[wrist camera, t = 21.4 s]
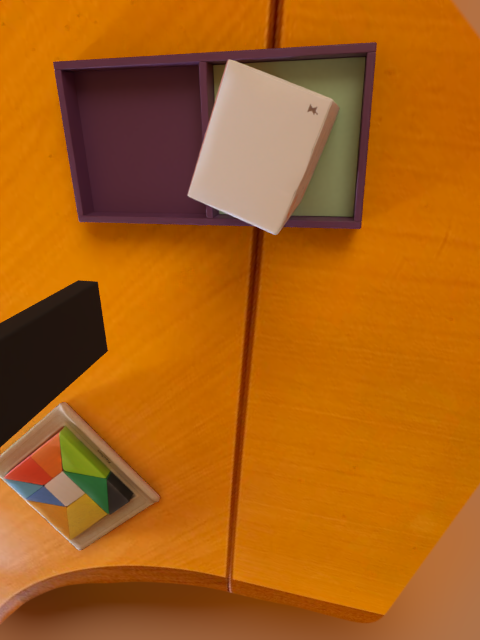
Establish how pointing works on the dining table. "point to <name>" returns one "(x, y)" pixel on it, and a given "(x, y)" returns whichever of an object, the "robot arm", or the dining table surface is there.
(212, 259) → the dining table surface
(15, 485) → the wooden puzzle
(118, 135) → the purple divided tray
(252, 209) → the small box
